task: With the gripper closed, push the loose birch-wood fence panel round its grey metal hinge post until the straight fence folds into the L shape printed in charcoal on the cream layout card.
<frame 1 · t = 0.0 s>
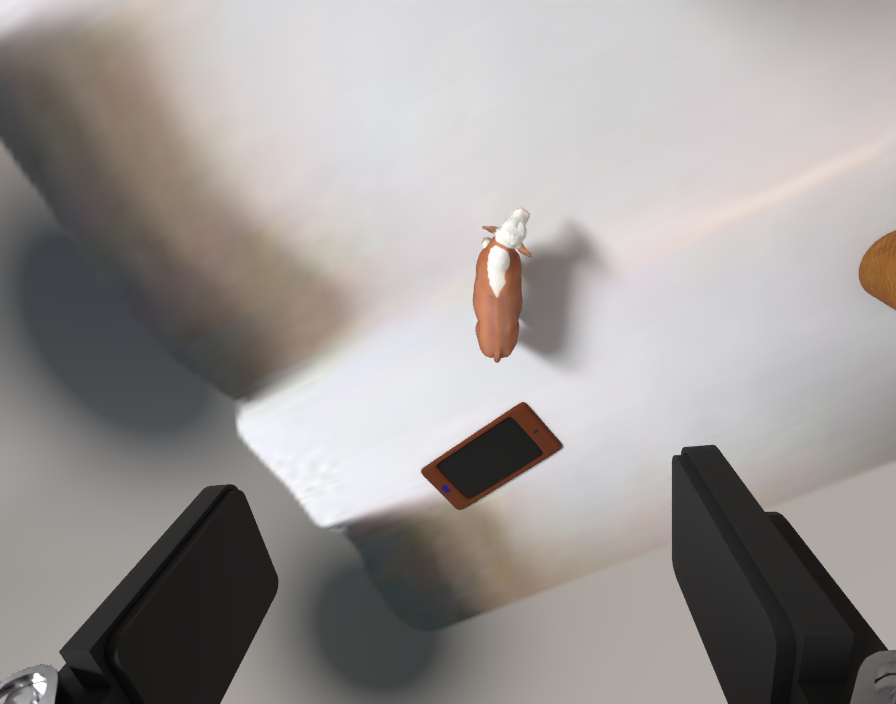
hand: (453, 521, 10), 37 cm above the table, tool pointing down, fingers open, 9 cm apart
bull figurine: (499, 272, 46), on the table
smartphone: (489, 455, 54), on the table
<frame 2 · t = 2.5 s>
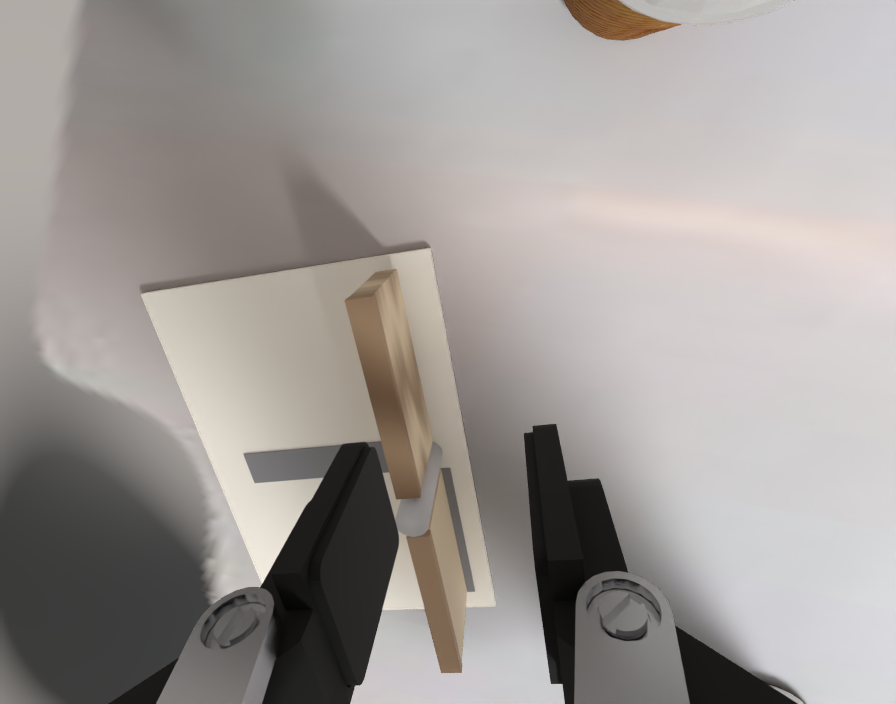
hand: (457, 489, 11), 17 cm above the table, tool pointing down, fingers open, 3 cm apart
fence panel: (396, 382, 26), point 4 cm above the table, hinge at 0.0°
layout card: (338, 463, 33), on the table
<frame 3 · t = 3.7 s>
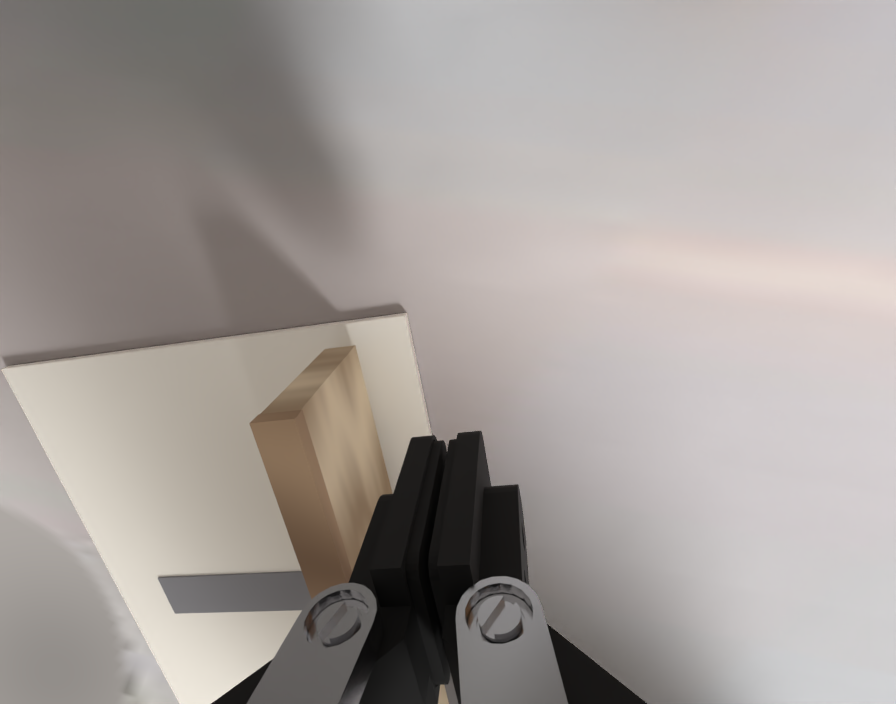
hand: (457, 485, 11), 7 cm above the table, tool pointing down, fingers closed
fence panel: (352, 518, 17), point 4 cm above the table, hinge at 0.0°
layout card: (286, 591, 24), on the table
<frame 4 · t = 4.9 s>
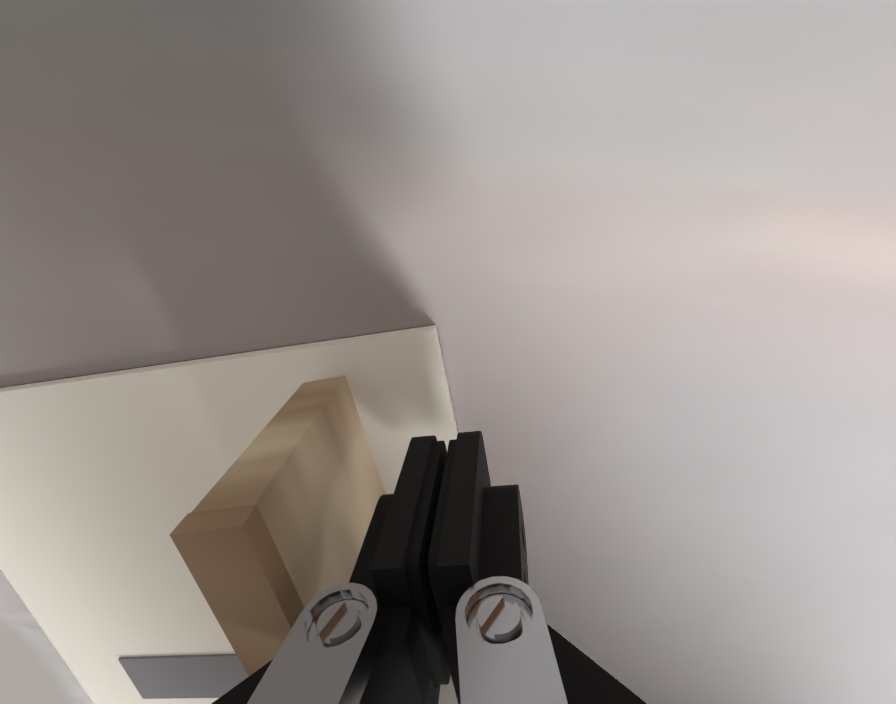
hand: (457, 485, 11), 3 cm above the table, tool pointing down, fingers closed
fence panel: (356, 620, 12), point 4 cm above the table, hinge at 2.5°, touching gripper
layout card: (281, 672, 19), on the table
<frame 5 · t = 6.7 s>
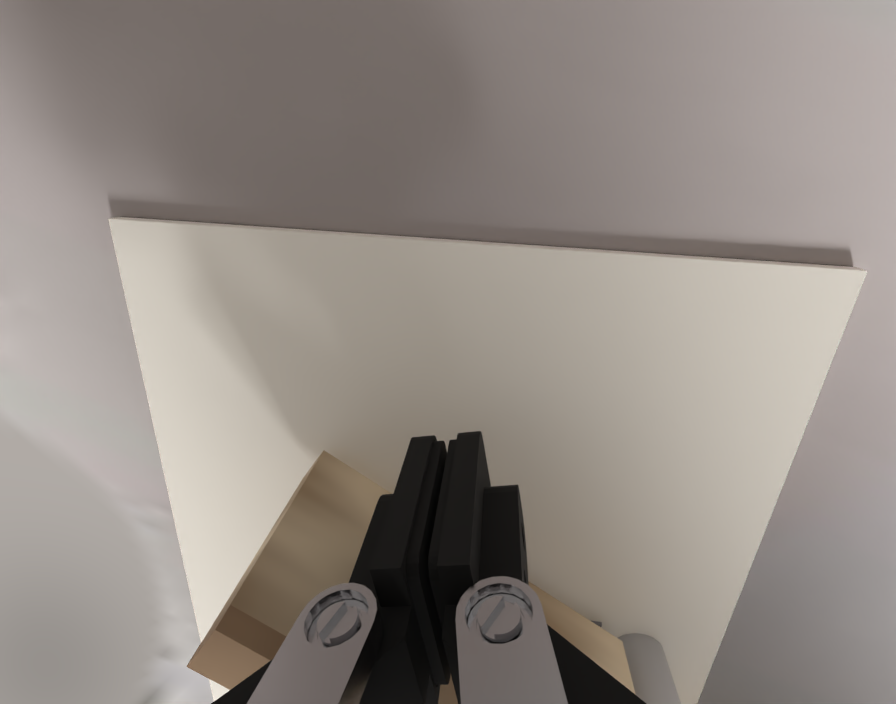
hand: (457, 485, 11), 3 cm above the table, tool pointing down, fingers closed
fence panel: (462, 650, 12), point 4 cm above the table, hinge at 57.3°, touching gripper
layout card: (441, 626, 17), on the table
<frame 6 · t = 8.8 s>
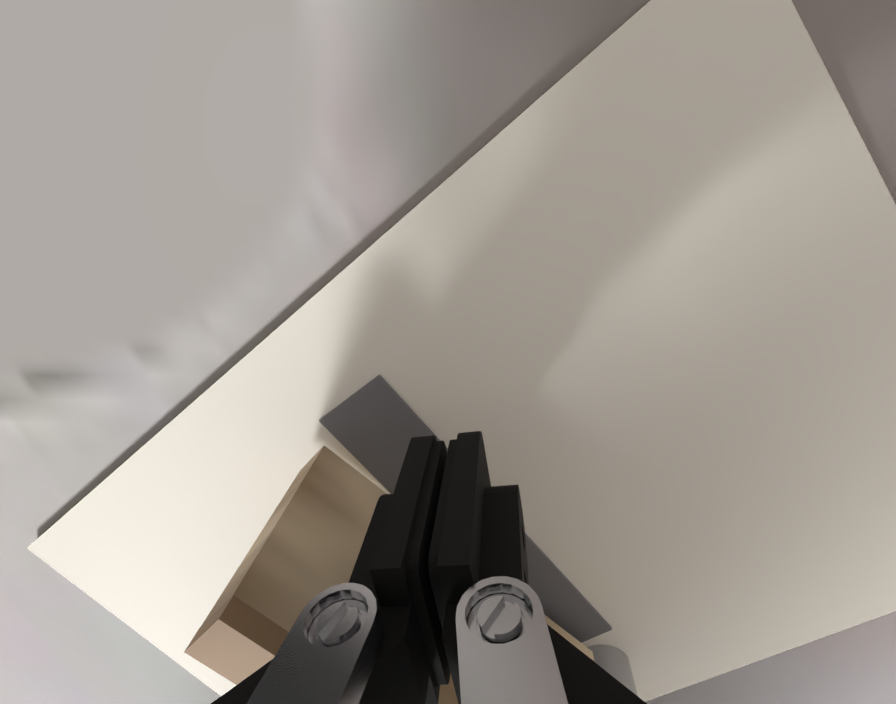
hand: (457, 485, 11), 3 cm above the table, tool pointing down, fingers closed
fence panel: (444, 651, 12), point 4 cm above the table, hinge at 98.7°
layout card: (474, 538, 15), on the table
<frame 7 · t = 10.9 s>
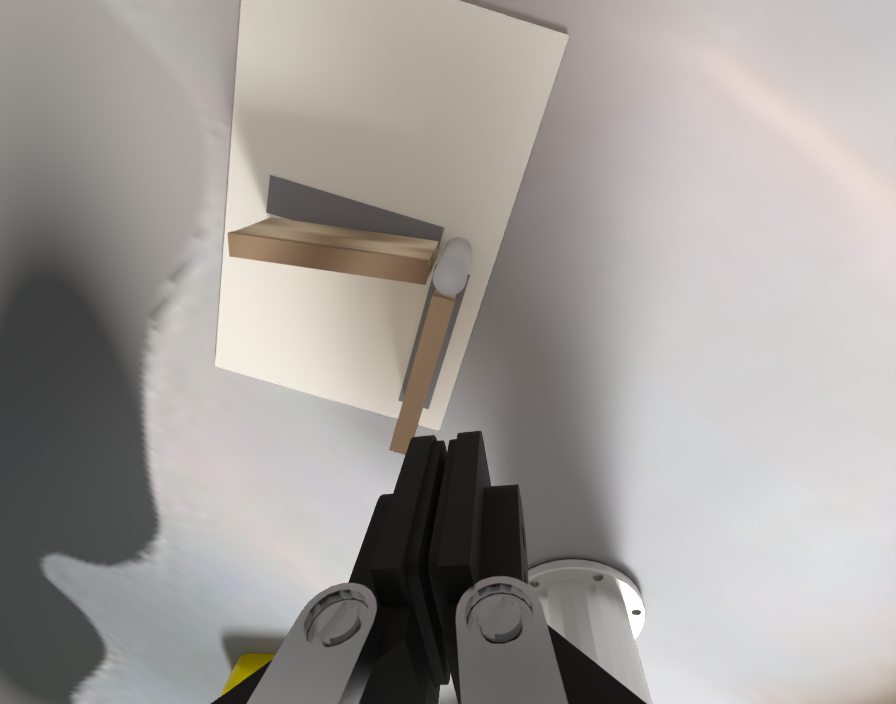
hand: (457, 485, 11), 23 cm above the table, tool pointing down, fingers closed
fence panel: (341, 247, 28), point 4 cm above the table, hinge at 98.7°
layout card: (362, 228, 32), on the table
element tile: (313, 691, 56), on the table
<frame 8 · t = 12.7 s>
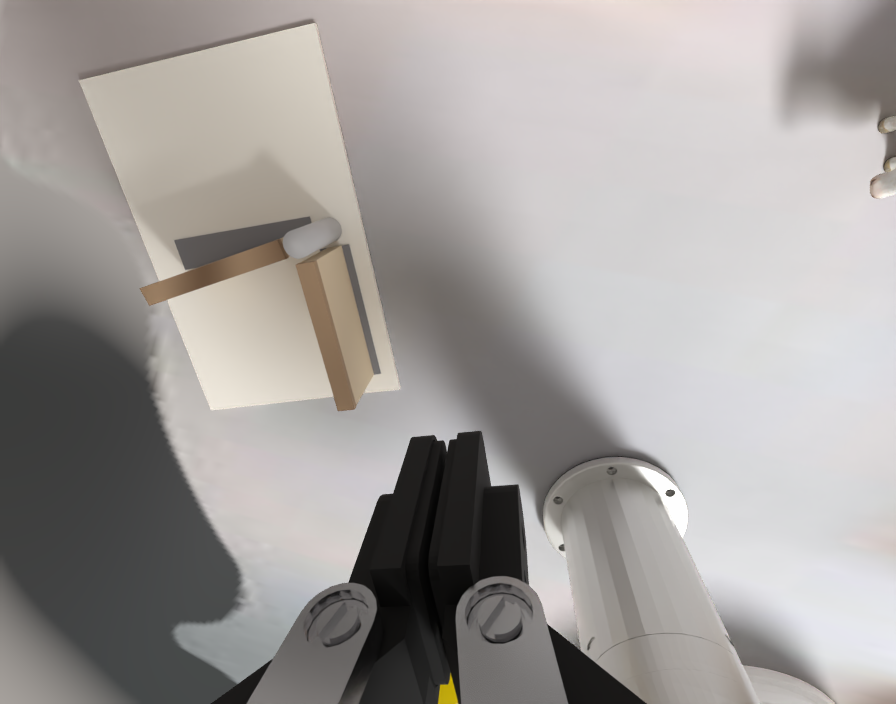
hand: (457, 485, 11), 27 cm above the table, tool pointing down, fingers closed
fence panel: (231, 265, 35), point 4 cm above the table, hinge at 98.7°
layout card: (256, 248, 38), on the table
element tile: (436, 688, 57), on the table
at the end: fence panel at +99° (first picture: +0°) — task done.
